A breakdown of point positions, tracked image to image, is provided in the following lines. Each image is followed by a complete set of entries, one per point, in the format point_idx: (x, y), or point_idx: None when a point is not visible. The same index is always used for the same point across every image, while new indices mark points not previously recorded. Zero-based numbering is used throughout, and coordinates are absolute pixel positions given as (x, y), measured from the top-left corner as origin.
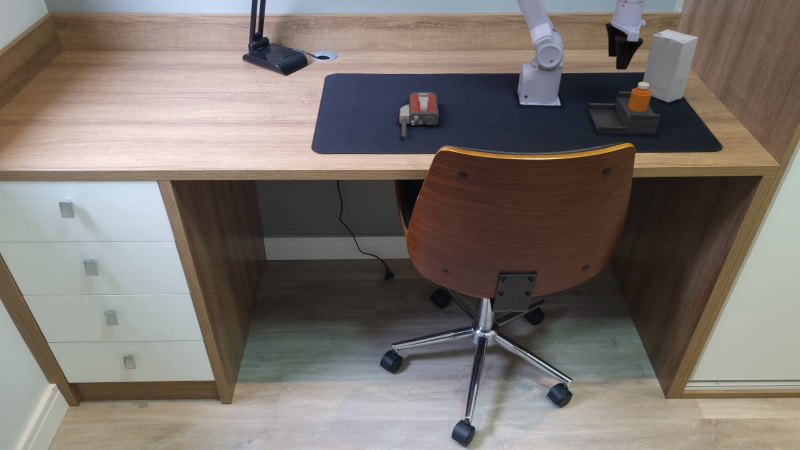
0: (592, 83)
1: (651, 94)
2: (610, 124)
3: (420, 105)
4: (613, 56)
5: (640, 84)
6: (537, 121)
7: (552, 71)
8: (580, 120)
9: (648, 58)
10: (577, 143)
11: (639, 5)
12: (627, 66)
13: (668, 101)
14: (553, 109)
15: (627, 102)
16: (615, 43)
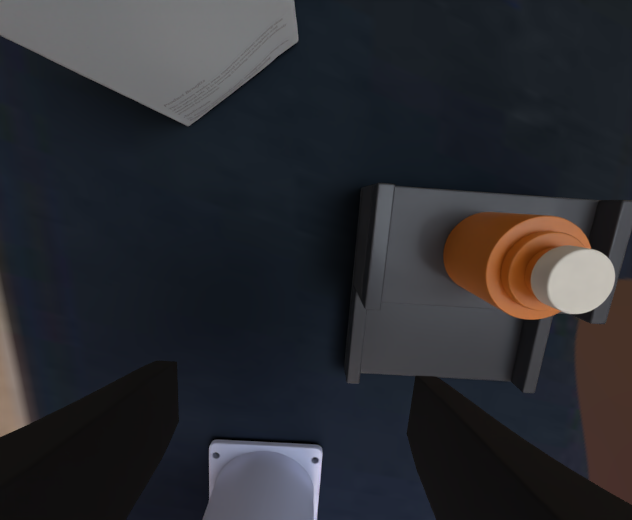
0: (105, 293)
1: (567, 221)
2: (476, 332)
3: None
4: (177, 396)
5: (588, 307)
6: (413, 516)
7: None
8: None
9: (61, 60)
10: (558, 442)
11: None
12: (452, 389)
13: (297, 35)
14: (335, 463)
15: (426, 277)
16: (99, 499)
